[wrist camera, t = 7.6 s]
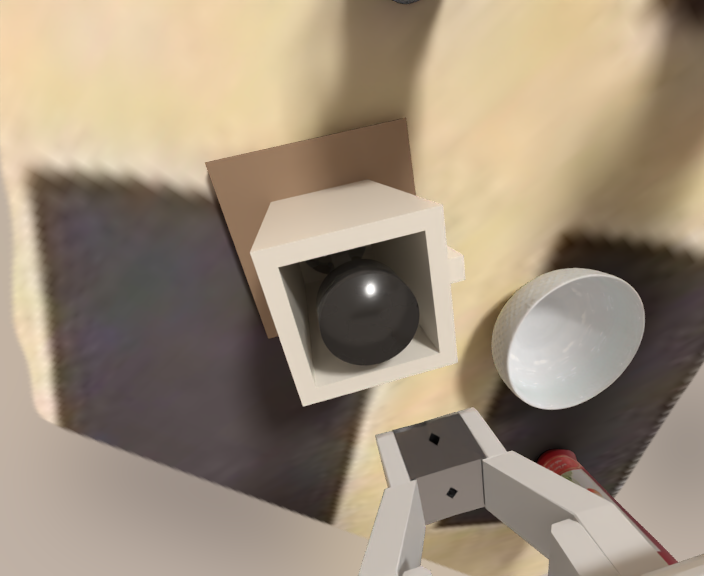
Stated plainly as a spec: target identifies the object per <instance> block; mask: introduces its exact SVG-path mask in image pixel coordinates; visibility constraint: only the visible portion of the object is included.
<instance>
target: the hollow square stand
mask: <svg viewBox="0 0 704 576" xmlns="http://www.w3.org/2000/svg"><path fill="white" fill-rule="evenodd" d="M205 164H206V167H207V170H208V173H209V176H210V178H211V181H212V184H213V187H214V189H215V192H216V195H217V198H218V200H219V203H220V206H221V209H222V212H223V214H224V217H225V220H226V223H227V225H228V228H229V231H230V234H231V236H232V239H233V242H234V245H235V248H236V250H237V253H238V256H239V259H240V261H241V264H242V267H243V270H244V273H245V275H246V278H247V281H248V284H249V286H250V289H251V292H252V295H253V297H254V300H255V303H256V306H257V309H258V311H259V314H260V317H261V320H262V322H263V325H264V328H265V331H266V333H267V336H268V339H270V338H273V337H277V336H279V338H280V341H281V344H282V347H283V350H284V353H285V356H286V359H287V362H288V365H289V367H290V370H291V373H292V376H293V379H294V382H295V385H296V388H297V391H298V394H299V396H300V399H301V402H302V405H303V407H304V406H307V405H311V404H314V403H318V402H321V401H325V400H328V399H332V398H335V397H339V396H342V395H346V394H349V393H353V392H356V391H360V390H363V389H367V388H371V387H374V386H378V385H381V384H385V383H388V382H392V381H395V380H399V379H402V378H406V377H409V376H413V375H416V374H420V373H423V372H427V371H430V370H434V369H437V368H441V367H444V366H448V365H452V364H455V363H458V358H457V347H456V337H455V326H454V316H453V305H452V294H451V284H452V283H455V282H459V281H463V280H465V267H464V255H462V254H461V253H459V252H457V251H456V250H454V249H452V248H451V247H449V246H447V241H446V231H445V220H444V210H443V205H442V204H439V203H436V202H433V201H430V200H427V199H424V198H421V197H418V196H416V193H415V186H414V178H413V170H412V162H411V154H410V146H409V138H408V130H407V122H406V118H402V119H398V120H393V121H389V122H384V123H380V124H375V125H371V126H366V127H362V128H358V129H353V130H349V131H344V132H340V133H335V134H331V135H326V136H322V137H317V138H313V139H308V140H304V141H299V142H295V143H290V144H286V145H281V146H277V147H272V148H268V149H264V150H259V151H255V152H250V153H246V154H241V155H237V156H232V157H228V158H223V159H219V160H214V161H210V162H205ZM365 245H366V248H365V252H364V254H363V256H362V258H361V259H372V260H376V261H379V262H382V263H384V264H386V265H387V266H389V267H390V268H391V269H392V270H393V271H394V272H395V273H396V274H397V275H398V276H399V277H400V278H401V280H402V281H403V282H404V283H405V284H406V285H407V286H408V288H409V289H410V290H411V291H412V293H413V294H414V296H415V298H416V300H417V303H418V307H419V324H418V328H417V330H416V333H415V335H414V337H413V339H412V340H411V342H410V343H409V344H408V345H407V347H406V348H405V349H404V350H403V351H402V352H400V353H399V354H398V355H396V356H395V357H393V358H391V359H389V360H387V361H385V362H382V363H379V364H374V365H354V364H350V363H347V362H345V361H342V360H341V359H339V358H337V357H336V356H335V355H333V354H332V353H331V352H330V351H329V349H328V348H327V347H326V345H325V343H324V342H323V339H322V337H321V332H320V327H319V321H318V314H317V308H316V298H317V293H318V290H319V287H320V285H321V283H322V282H323V280H324V279H325V277H326V276H327V275H328V274H323V273H320V272H318V271H316V270H314V269H312V268H311V267H310V266H309V265H308V264H307V263H306V262H305V261H306V260H309V259H313V258H317V257H321V256H325V255H329V254H333V253H337V252H341V251H345V250H349V249H353V248H357V247H361V246H365Z"/></svg>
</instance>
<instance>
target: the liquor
mask: <svg viewBox="0 0 704 576" xmlns="http://www.w3.org/2000/svg"><path fill="white" fill-rule="evenodd" d="M537 464H539V465H541V466H543V467H545V468H546V469H548V470H550V471H552V472H554V473H556V474H558V475H560V476H562V477H564V478H565V479H567V480H569V481H571V482H573V483H575V484H577V485H579V486H581V487H583V488H585V489H586V490H588V491H590V492H592V493H594V494H596V495H598V496H600V497H602V498H604V499H606V500H607V501H609V502H611V503H613V504H614V505H615V506H616V507H617V508H618V510H619V511H620V512H621V513H622V514H623V515H624V516H625V517H626V518H627V520H628V521H629V522H630V523H631V524H632V525H633V526H634V527H635V528H636V529H637V531H638V532H639V533H640V534H641V535H642V536H643V537H644V538H645V539H646V540H647V542H648V543H649V544H650V545H651V546H652V547H653V548H654V549H655V550H656V551H657V553H658V554H659V555H660V556H661V557H662V558H663V559H664V560H665V561H666V562H667V564H668V565H672V564H675V563H678V562H677V561H676V560H675V559H674V557H672V555H670V554H669V552H668V551H667V550H666V549H665V548H664V547H663V546H662V545H661V544H659V542H658V541H657V540H656V539H655V538H654V537H653V536H652V535H651V534H650V533H648V531H646V530H645V529H644V528H643V527H642V526H641V525H640V524H639V523H638V522H637V521H636V520H635V519H634V518H633V517H632V516H631V515H630V514H629V513H628V512H627V511H626V510H625V509H624V508H623V507H622V506H621V505H620V504H619V503H618V502H617V501H616V500H615V499H614V498H613V497H612V496H611V495H610V494H609V493H608V492H607V491H606V490H605V489H604V488H603V487H602V486H601V485H600V484H599V483H598V482H597V481H596V480H595V479H594V478H593V477H592V476H591V475H590V474H589V473H588V472H587V471H586V470H585V469H584V468H583V467H582V466H581V464H580V463H579V462H578V461H577V459H576V456H575V454H574V453H573V452H572V451H570V450H564V449H551V450H548V451H546V452H544V453H543V454H542V455H541V456H540V457H539V458H538V460H537Z"/></svg>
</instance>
